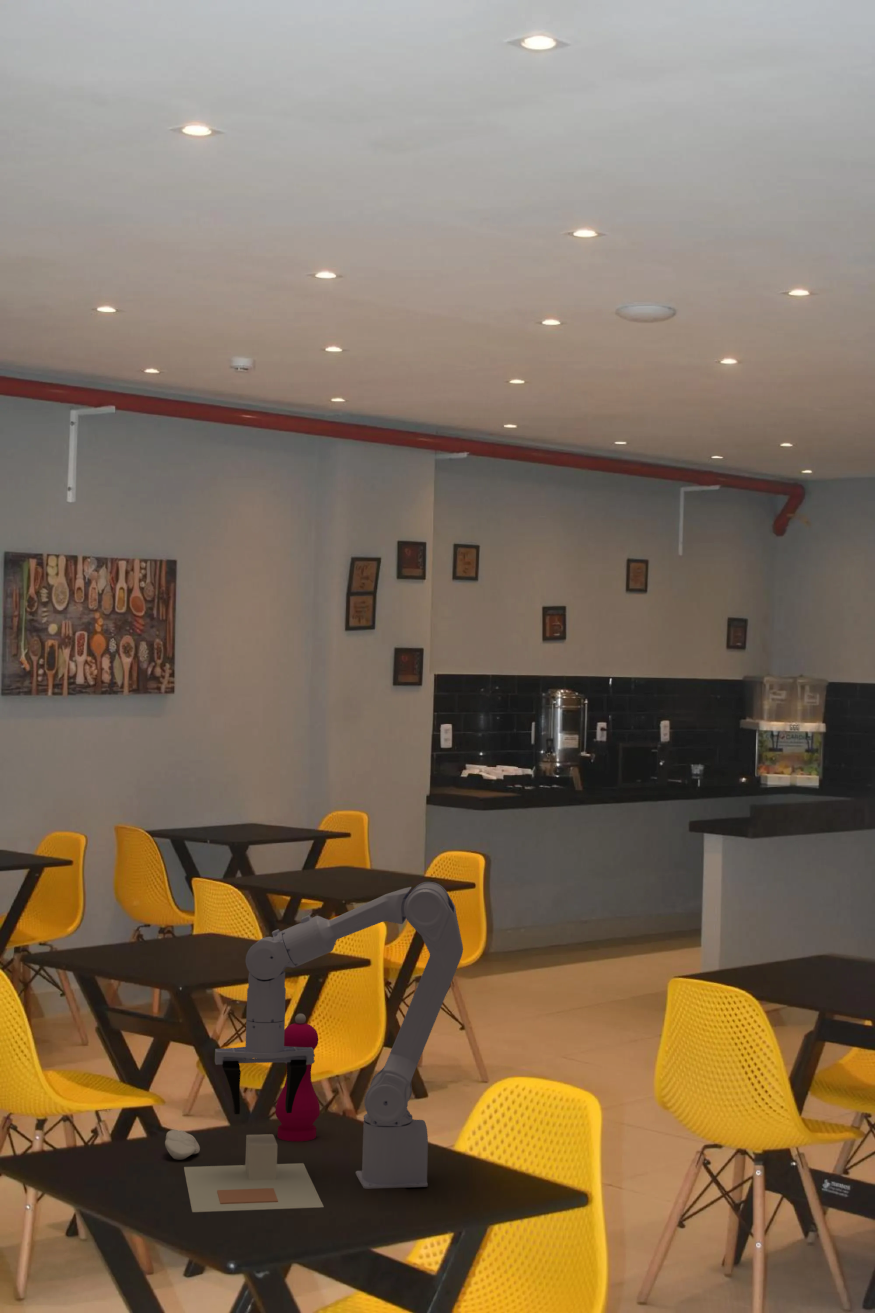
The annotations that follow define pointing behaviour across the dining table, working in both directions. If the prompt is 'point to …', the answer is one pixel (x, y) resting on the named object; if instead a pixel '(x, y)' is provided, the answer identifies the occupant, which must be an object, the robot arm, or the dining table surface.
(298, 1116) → the pepper mill
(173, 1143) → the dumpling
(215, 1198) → the mat
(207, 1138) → the dining table surface
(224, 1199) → the flat orange brown slab
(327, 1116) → the dining table surface
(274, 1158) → the plain grayish brown block
